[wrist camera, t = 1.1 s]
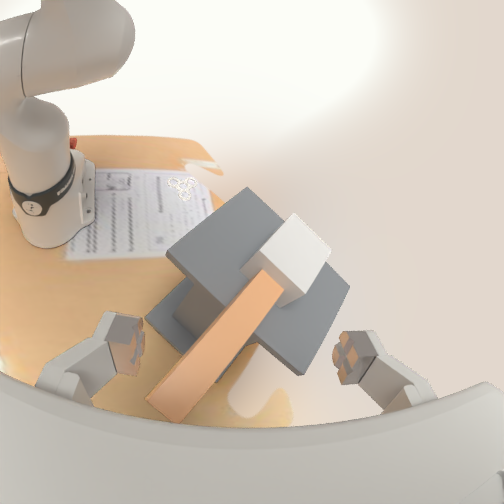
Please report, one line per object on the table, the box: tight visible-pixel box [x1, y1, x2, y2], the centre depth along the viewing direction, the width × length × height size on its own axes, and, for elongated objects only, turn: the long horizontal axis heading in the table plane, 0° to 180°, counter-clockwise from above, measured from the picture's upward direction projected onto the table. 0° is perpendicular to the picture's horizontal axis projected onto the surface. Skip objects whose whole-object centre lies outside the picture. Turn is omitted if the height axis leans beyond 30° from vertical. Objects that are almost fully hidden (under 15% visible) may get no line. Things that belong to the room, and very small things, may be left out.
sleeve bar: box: [145, 213, 332, 424], centre depth 21 cm, size 20×5×4 cm, turn 143°
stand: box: [145, 187, 350, 382], centre depth 36 cm, size 12×16×26 cm
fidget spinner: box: [167, 177, 197, 201], centre depth 59 cm, size 7×6×1 cm
